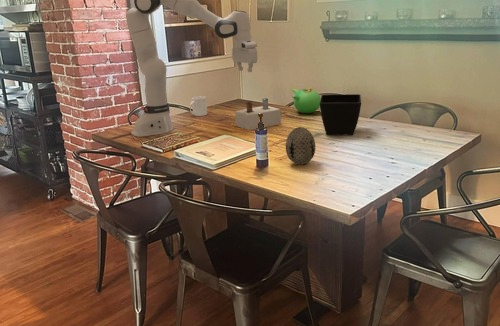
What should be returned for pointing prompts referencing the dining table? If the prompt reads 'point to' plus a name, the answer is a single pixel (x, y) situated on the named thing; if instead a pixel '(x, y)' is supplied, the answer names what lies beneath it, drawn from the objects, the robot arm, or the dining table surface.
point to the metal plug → (265, 103)
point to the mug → (199, 106)
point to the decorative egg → (300, 146)
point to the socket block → (251, 119)
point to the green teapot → (306, 100)
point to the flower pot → (340, 113)
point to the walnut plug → (249, 106)
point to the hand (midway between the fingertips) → (245, 71)
